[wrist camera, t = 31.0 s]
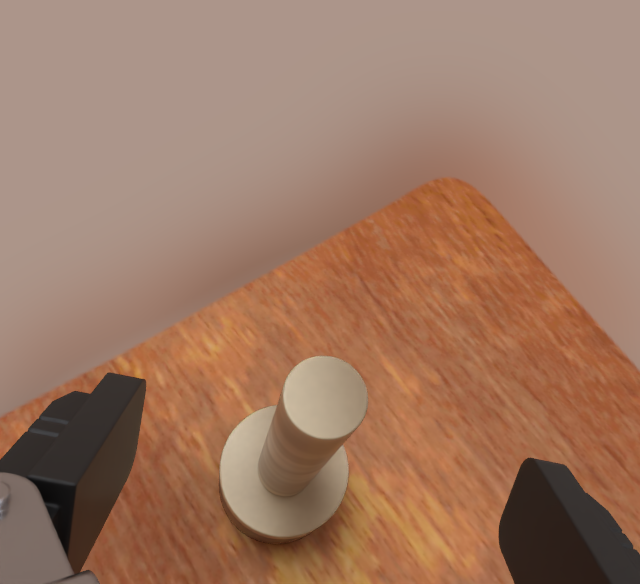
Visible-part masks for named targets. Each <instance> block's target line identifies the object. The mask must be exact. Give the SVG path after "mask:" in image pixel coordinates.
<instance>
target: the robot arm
mask: <svg viewBox="0 0 640 584" xmlns="http://www.w3.org/2000/svg"><path fill="white" fill-rule="evenodd" d="M145 392H146V380H144V379H139V378H135V377H130V376H125V375H120V374H115V373H107V374H106V375H105V377H104V378H103V379H102V380H101V382H100V383H99V384H98V385H97V387H96V388H95V389H94V391H93V392H92V393H91V394H88V393H83V392H78V391H74V392H71V393H69V394H67V395H65V396H63V397H61V398H59V399H57V400H55V401H53V402H52V403H51V404H50V405H49V406H48V407H47V408H46V410H45V411H44V412H43V413H42V414H41V415H40V417H39V419H37V420H36V421H35V422H34V423H33V424H32V425H31V426H30V427H29V429H28V432H25V433H24V434H23V435H22V436H21V437H20V439H19V440H18V441H17V442H16V443H15V444H14V445H13V446H12V447H11V449H10V450H9V451H8V452H7V453H6V454H5V455H4V456H3V458H2V459H1V460H0V584H100V583H99V581H98V579H97V577H96V576H95V575H94V573H93V572H92V571H90V570H86V571H83V572H80V571H81V569H82V567H83V565H84V563H85V561H86V559H87V557H88V555H89V553H90V551H91V549H92V547H93V545H94V543H95V541H96V539H97V537H98V535H99V533H100V531H101V529H102V528H103V526H104V524H105V522H106V520H107V518H108V516H109V514H110V512H111V510H112V508H113V506H114V504H115V502H116V500H117V498H118V496H119V494H120V492H121V490H122V488H123V486H124V484H125V482H126V480H127V478H128V476H129V474H130V471H131V468H132V465H133V462H134V458H135V454H136V449H137V444H138V437H139V431H140V424H141V418H142V412H143V405H144V399H145ZM499 545H500V549H501V552H502V554H503V556H504V559H505V561H506V564H507V566H508V568H509V571H510V573H511V576H512V578H513V580H514V583H515V584H640V554H639V553H638V552H637V550H634V549H633V545H632V543H631V542H630V541H629V539H628V538H627V536H626V535H625V534H623V533H622V529H621V528H620V527H619V525H618V524H617V523H616V521H615V520H614V518H613V517H612V516H611V514H610V513H609V511H607V510H606V509H605V508H604V507H603V506H602V505H600V504H599V503H598V502H597V501H596V500H595V499H593V498H592V497H591V496H590V495H589V494H588V493H585V492H584V490H583V489H582V487H581V486H580V485H579V483H578V482H577V480H576V479H575V477H574V476H573V475H572V473H571V472H570V470H569V469H568V468H567V466H565V465H563V464H558V463H553V462H548V461H544V460H539V459H534V458H527V459H526V460H525V461H524V462H523V463H522V465H521V467H520V469H519V472H518V474H517V477H516V480H515V482H514V485H513V488H512V490H511V493H510V496H509V498H508V501H507V504H506V506H505V509H504V512H503V514H502V517H501V520H500V525H499Z"/></svg>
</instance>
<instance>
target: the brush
mask: <svg viewBox="0 0 640 584" xmlns="http://www.w3.org/2000/svg"><path fill="white" fill-rule="evenodd" d="M367 407H368V393H367V389H366V385H365V383H364V381H363V379H362V377H361V376H360V374H359V373H358V372H357V371H356V370H355V369H354V368H353V367H352V366H351V365H350V364H348V363H347V362H345V361H343V360H341V359H338V358H335V357H331V356H315V357H311V358H308V359H306V360H304V361H302V362H300V363H299V364H298V365H296V366H295V367H294V368H293V369H292V371H291V372H290V373H289V375H288V376H287V378H286V381H285V383H284V386H283V389H282V392H281V395H280V398H279V401H278V404H277V405H274V406H269V407H266V408H263V409H260V410H258V411H256V412H254V413H252V414H250V415H249V416H247V417H246V418H245V419H243V420H242V421H241V422H240V423H239V424H238V425H237V426H236V427H235V429H234V430H233V431H232V433H231V434H230V436H229V437H228V439H227V441H226V443H225V446H224V448H223V451H222V455H221V460H220V471H219V493H220V498H221V502H222V505H223V508H224V510H225V512H226V514H227V515H228V517H229V519H230V520H231V521H232V523H233V524H234V525H235V526H236V527H237V528H238V529H239V530H240V531H241V532H243V533H244V534H246V535H247V536H249V537H251V538H253V539H255V540H257V541H261V542H264V543H270V544H282V543H289V542H292V541H296V540H298V539H300V538H303V537H304V536H306V535H307V534H309V533H311V532H312V531H314V530H315V529H317V528H319V527H320V526H321V525H323V524H324V523H325V522H326V521H328V520H329V518H330V517H331V516H332V515H333V514H334V513H335V511H336V510H337V509H338V507H339V505H340V503H341V502H342V500H343V497H344V494H345V492H346V488H347V484H348V475H349V470H348V459H347V455H346V451H345V448H344V446H343V444H344V443H345V441H346V440H347V439H348V438H349V437H350V436H351V434H352V433H353V432H354V431H355V430H356V429H357V428H358V426H359V425H360V424H361V422H362V421H363V419H364V417H365V414H366V412H367Z"/></svg>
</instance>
